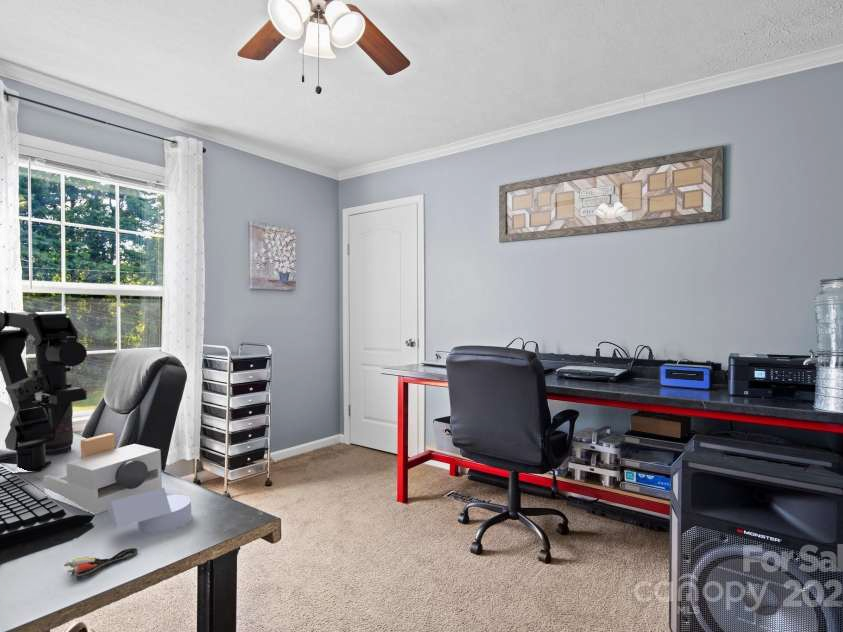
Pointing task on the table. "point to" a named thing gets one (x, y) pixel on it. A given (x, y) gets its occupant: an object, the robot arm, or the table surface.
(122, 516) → the wedge on round base
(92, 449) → the tan boxy piece
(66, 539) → the table surface
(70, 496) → the camera case
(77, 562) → the composite cable
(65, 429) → the camera lens
